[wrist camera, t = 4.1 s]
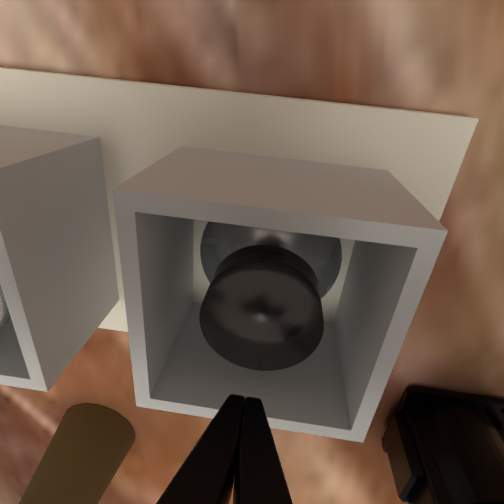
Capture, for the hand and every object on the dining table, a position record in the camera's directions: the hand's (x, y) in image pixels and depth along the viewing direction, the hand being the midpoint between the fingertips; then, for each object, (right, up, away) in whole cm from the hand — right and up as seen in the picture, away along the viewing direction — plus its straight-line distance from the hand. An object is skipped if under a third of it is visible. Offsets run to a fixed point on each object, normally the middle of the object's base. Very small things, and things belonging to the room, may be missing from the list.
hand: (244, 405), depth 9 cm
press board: (-5, +5, +9) cm, 12 cm away
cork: (-12, -10, +19) cm, 25 cm away
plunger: (+1, +4, +8) cm, 9 cm away
